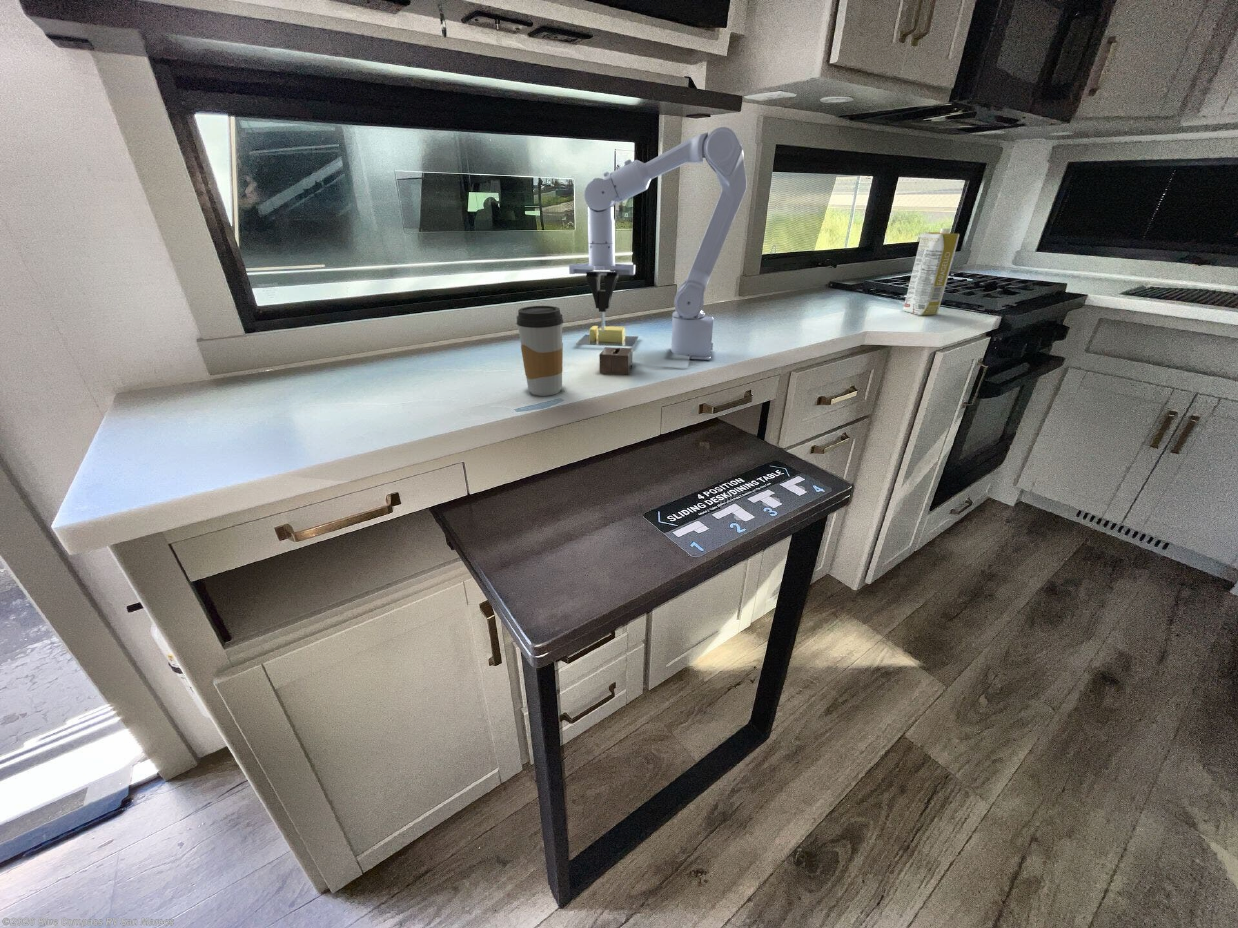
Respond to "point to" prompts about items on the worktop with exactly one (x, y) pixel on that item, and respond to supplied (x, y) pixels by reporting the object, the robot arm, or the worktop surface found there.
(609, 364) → the knife block
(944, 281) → the juice carton
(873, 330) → the worktop surface
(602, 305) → the knife
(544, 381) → the coffee cup
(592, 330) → the butter slice
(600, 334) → the butter block
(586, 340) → the butter dish
